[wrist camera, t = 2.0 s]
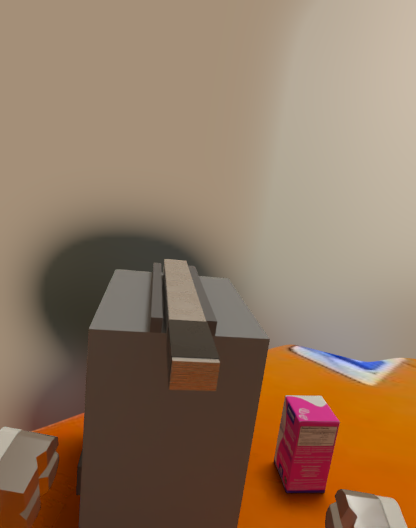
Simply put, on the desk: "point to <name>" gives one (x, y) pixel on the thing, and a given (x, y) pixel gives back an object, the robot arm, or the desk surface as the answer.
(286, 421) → the supplement box
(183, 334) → the bar
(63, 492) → the desk surface
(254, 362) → the grey grooved block
